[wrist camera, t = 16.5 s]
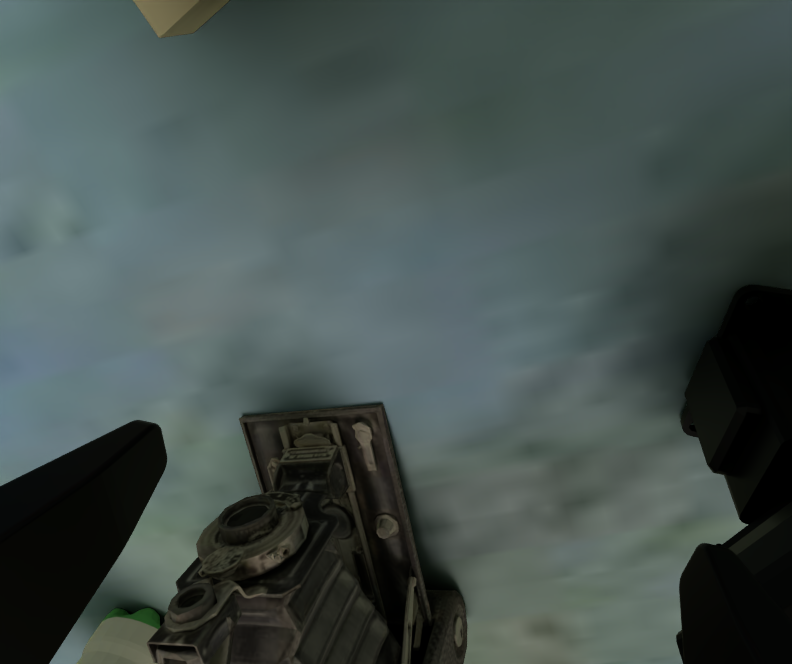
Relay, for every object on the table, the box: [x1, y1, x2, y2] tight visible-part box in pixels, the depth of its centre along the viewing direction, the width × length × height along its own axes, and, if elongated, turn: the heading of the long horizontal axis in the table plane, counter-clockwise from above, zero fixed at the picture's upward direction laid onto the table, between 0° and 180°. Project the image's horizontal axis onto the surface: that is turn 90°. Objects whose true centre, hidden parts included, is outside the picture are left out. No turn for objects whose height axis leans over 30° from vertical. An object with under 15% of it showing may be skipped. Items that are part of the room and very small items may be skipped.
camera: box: [146, 404, 467, 664], centre depth 23 cm, size 11×17×20 cm, turn 15°
